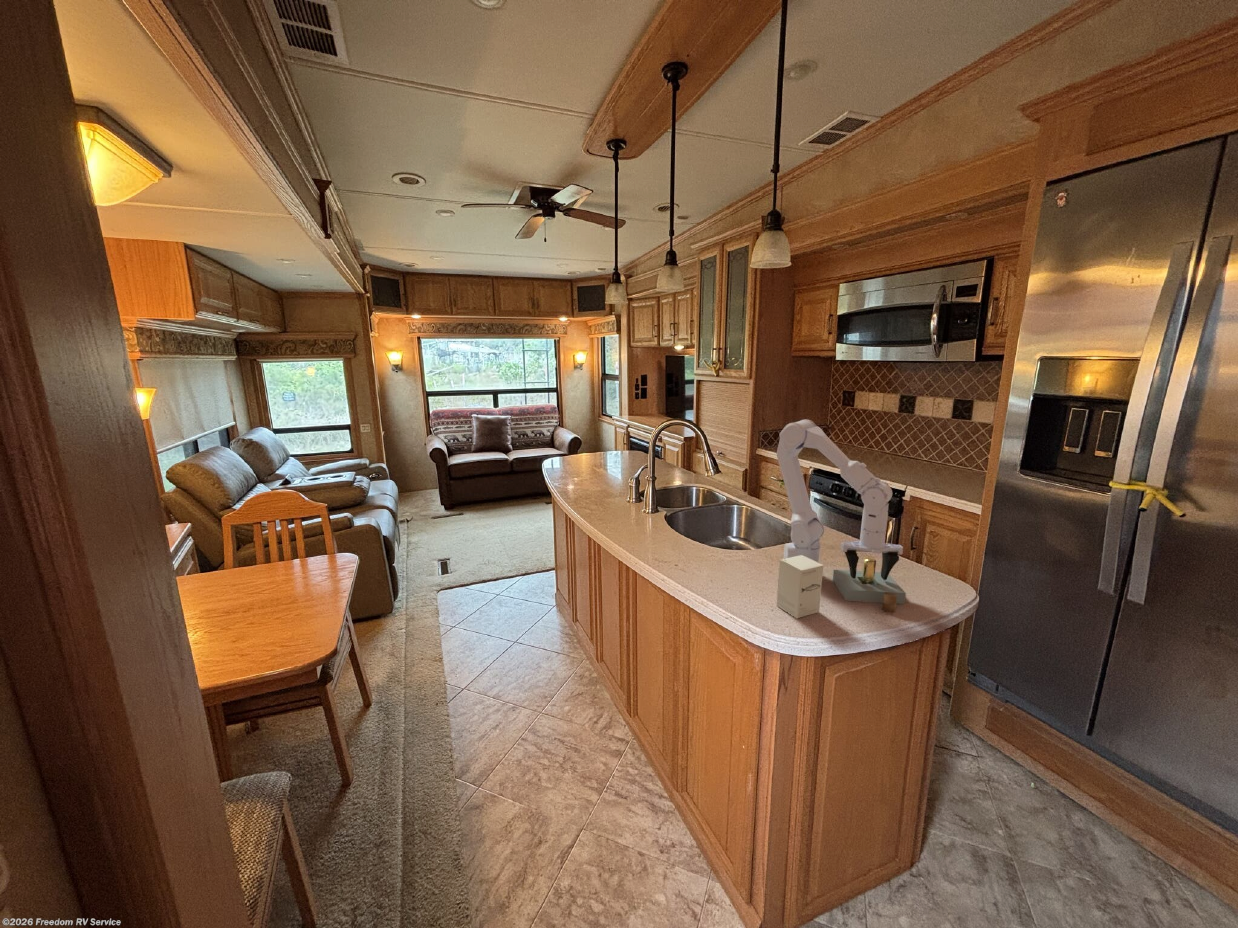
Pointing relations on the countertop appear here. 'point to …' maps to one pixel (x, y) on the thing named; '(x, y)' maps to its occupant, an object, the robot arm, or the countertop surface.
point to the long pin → (868, 571)
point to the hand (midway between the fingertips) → (868, 577)
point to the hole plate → (866, 587)
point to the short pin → (889, 602)
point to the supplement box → (799, 586)
